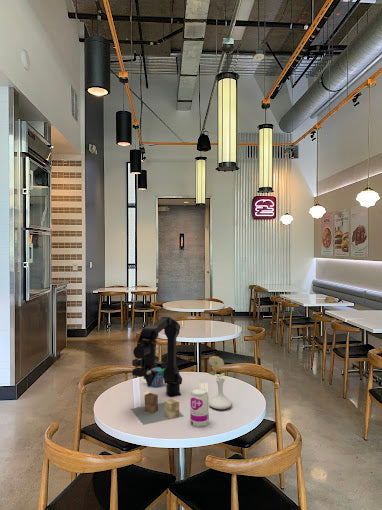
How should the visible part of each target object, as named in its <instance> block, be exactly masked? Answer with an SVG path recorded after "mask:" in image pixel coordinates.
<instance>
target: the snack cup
mask: <svg viewBox="0 0 382 510" xmlns="http://www.w3.org/2000/svg"><path fill="white" fill-rule="evenodd" d="M156 371H158V373H157V375H156V377H155V378H154V381H153V383H152V385H151V387H153V388H159V387H162V386H164V385H163V384H164V377H163V375H164V369H161V367H159V368H156ZM142 378H143V379H144V380H146V379H145V377H144V376H143V377H142Z"/></svg>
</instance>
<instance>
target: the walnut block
mask: <svg viewBox="0 0 382 510" xmlns="http://www.w3.org/2000/svg"><path fill="white" fill-rule="evenodd" d="M158 404H159V394H155V393H152V392H149V393H147V394H144V406H145V412H147V413H150V414H154V413H156V412H158Z"/></svg>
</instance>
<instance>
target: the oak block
mask: <svg viewBox="0 0 382 510" xmlns="http://www.w3.org/2000/svg"><path fill="white" fill-rule="evenodd" d="M163 403H165V416H166V417H168V418H169V420H173V419H172V418H174V419H176V418H175V417H179V412H180V401H179V400H178V399H176V398H173V397H171V398H169V399H165V400H164V402H163ZM179 418H180V417H179Z"/></svg>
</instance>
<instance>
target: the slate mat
mask: <svg viewBox="0 0 382 510" xmlns="http://www.w3.org/2000/svg"><path fill="white" fill-rule="evenodd" d="M130 410H131V411H132V412H133V414H134V415H135V416H136V417H137V419H138V420H139V422H140V423H141V424H142V425H143V426H144V425H149V424H154V423H159V422H163V421H169V420H170V419H169V418H168V417H166V416H165V403H164V402H160V403H159V402H158V412H156V413H154V414H150V413H147V412H145V405H143V406H139V407H133V408H130ZM182 417H185V416H184V414H183V413H181V411H179V417H175V418H172V419H171V420H173V419H178V418H182Z"/></svg>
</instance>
